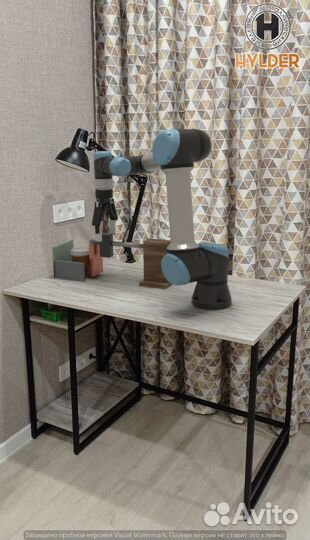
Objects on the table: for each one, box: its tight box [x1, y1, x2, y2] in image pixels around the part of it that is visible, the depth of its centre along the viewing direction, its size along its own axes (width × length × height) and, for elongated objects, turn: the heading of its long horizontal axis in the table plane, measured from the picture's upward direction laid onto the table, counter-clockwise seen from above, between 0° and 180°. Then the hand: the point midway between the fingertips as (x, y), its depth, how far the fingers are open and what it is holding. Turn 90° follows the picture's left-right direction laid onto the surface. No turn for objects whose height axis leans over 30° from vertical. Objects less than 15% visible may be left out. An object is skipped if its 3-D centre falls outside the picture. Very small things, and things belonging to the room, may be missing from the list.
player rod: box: [85, 232, 143, 277], centre depth 231 cm, size 8×30×18 cm, turn 69°
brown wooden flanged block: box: [138, 238, 173, 290], centre depth 225 cm, size 12×12×19 cm
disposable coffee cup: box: [70, 246, 90, 278], centre depth 239 cm, size 10×10×12 cm
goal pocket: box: [51, 239, 86, 282], centre depth 240 cm, size 16×15×14 cm
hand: (105, 238), depth 231 cm, fingers open, 13 cm apart
